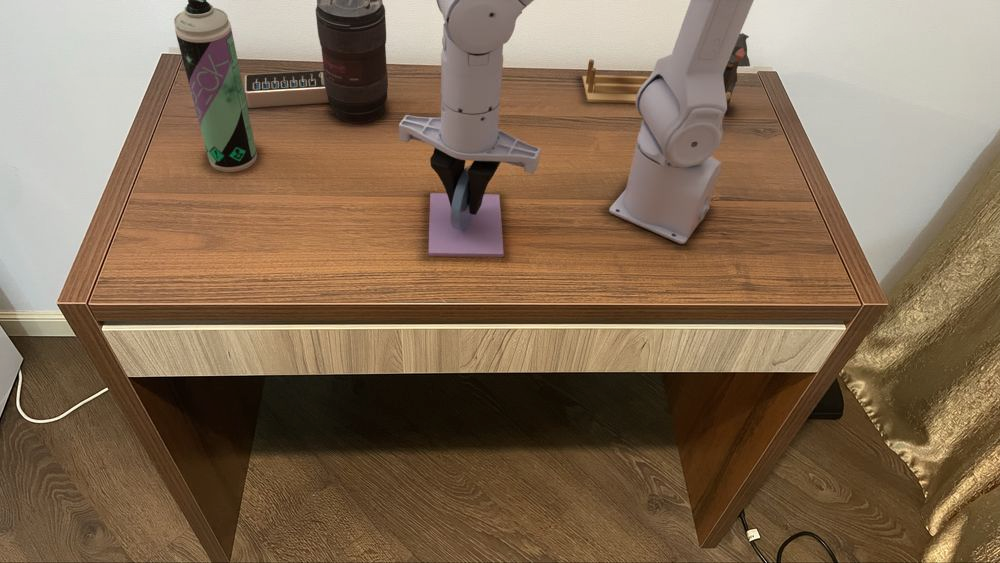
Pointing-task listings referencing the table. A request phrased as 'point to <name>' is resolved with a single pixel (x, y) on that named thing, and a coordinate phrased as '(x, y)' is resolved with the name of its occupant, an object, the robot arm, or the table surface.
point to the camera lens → (354, 57)
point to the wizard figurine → (735, 66)
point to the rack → (611, 87)
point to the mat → (472, 241)
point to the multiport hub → (285, 89)
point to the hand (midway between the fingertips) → (466, 206)
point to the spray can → (216, 85)
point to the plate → (461, 203)
